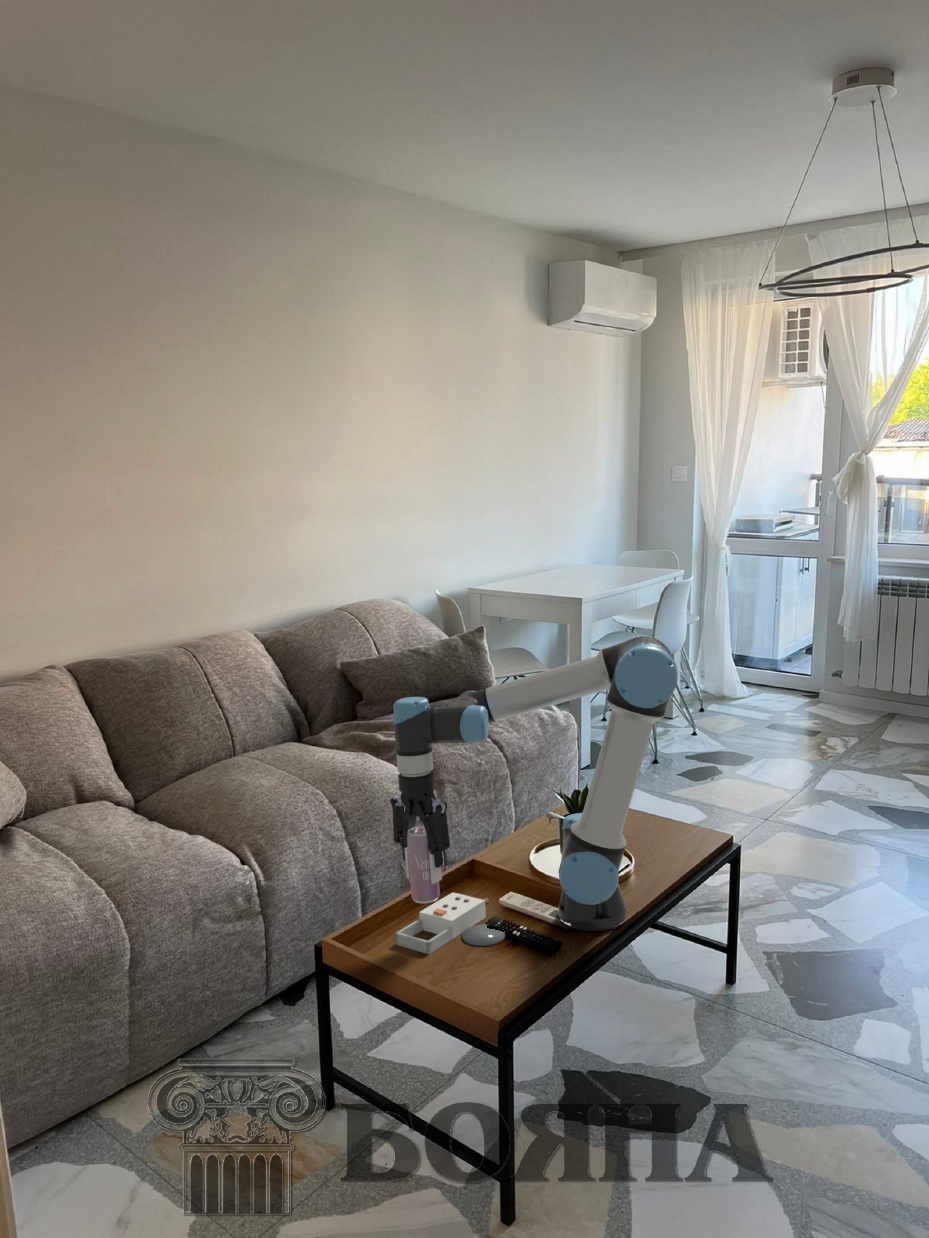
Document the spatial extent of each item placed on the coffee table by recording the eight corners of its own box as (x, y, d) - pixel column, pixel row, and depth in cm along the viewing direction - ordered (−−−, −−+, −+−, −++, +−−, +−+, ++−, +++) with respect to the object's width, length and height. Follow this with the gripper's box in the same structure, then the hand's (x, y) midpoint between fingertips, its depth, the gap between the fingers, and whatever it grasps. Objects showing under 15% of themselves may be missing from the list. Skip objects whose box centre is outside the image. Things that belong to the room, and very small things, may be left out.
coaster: (512, 932, 202) (512, 930, 202) (488, 949, 195) (488, 946, 195) (478, 923, 207) (478, 921, 207) (454, 939, 200) (454, 937, 200)
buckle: (471, 898, 221) (470, 879, 221) (503, 905, 216) (502, 886, 215) (395, 944, 199) (394, 923, 199) (429, 954, 194) (427, 933, 194)
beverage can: (439, 891, 202) (434, 824, 201) (440, 903, 196) (434, 833, 195) (412, 894, 202) (406, 826, 200) (411, 905, 196) (405, 835, 194)
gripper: (463, 771, 194) (470, 879, 196) (393, 762, 205) (401, 865, 207) (440, 781, 188) (449, 892, 190) (369, 771, 199) (378, 877, 201)
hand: (424, 878), depth 199 cm, fingers closed on beverage can, 6 cm apart
